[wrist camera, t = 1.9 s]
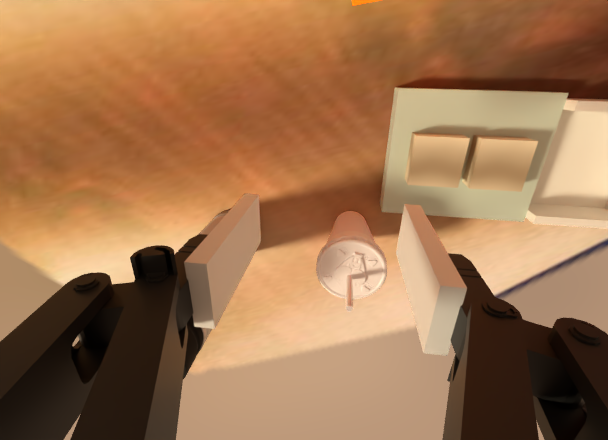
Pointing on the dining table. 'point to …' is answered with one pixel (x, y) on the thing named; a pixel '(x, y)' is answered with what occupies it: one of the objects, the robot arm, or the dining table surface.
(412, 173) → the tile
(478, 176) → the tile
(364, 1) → the orange juice
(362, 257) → the smoothie
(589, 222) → the tray
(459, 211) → the board
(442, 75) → the dining table surface
